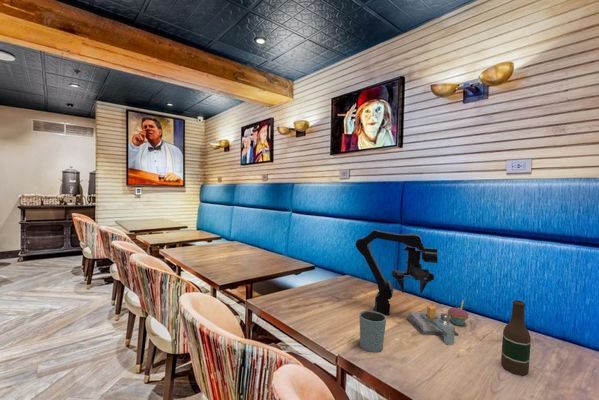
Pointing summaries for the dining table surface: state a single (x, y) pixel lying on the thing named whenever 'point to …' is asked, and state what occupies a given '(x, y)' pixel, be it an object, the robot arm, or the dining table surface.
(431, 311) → the orange upright bar
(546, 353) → the dining table surface
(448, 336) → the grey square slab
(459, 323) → the cupcake
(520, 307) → the beer bottle
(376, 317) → the grey cup
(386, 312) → the robot arm
